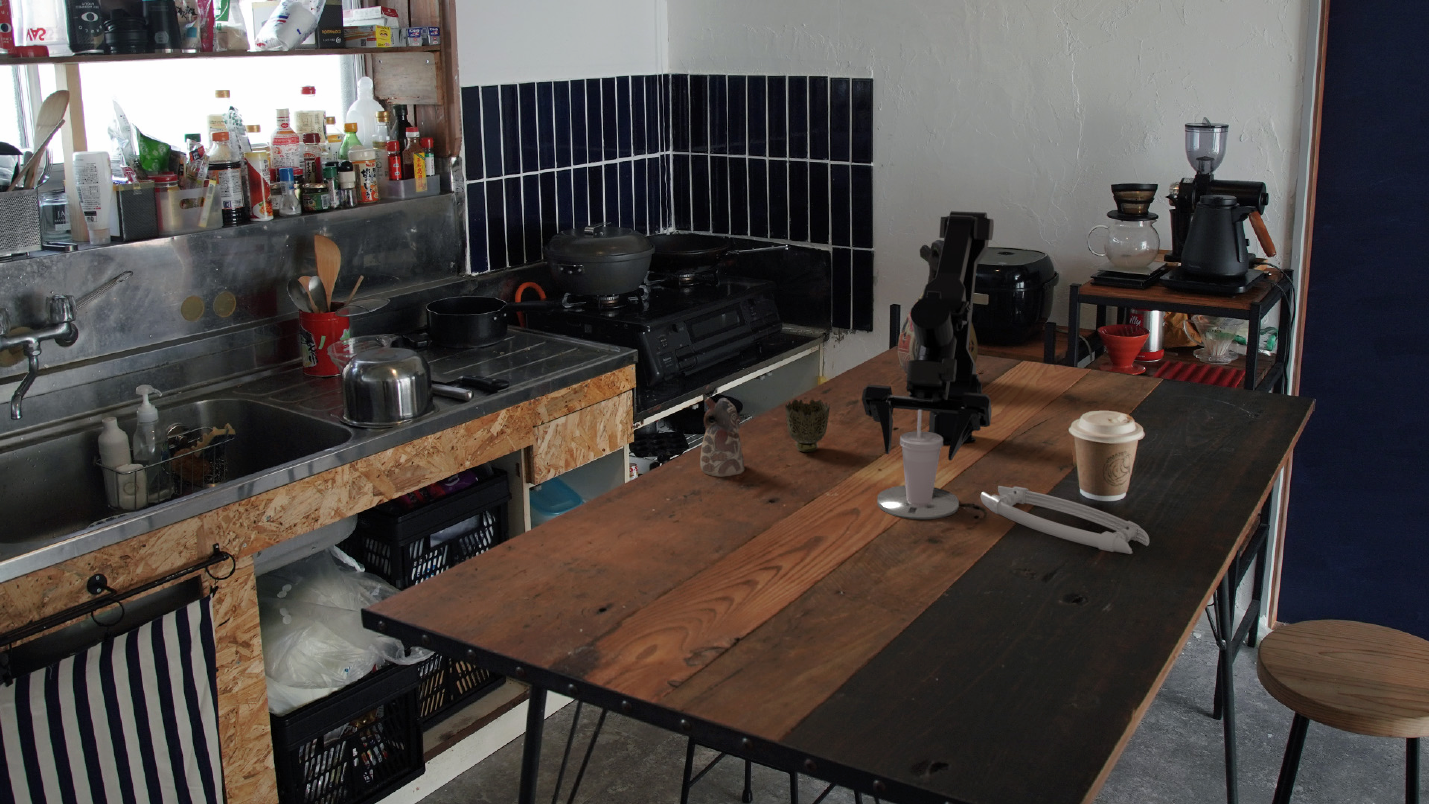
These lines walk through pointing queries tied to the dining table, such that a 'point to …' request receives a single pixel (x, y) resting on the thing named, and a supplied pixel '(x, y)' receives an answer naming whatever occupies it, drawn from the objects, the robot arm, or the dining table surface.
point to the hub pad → (899, 506)
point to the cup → (807, 423)
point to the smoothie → (920, 462)
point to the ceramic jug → (907, 337)
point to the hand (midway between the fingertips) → (918, 456)
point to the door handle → (1101, 541)
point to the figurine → (721, 440)
